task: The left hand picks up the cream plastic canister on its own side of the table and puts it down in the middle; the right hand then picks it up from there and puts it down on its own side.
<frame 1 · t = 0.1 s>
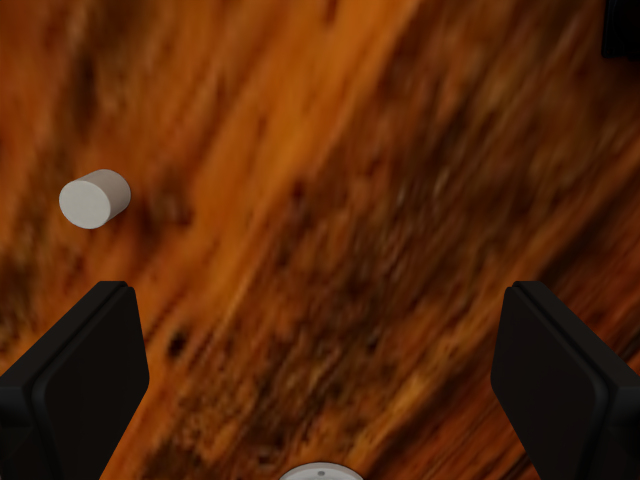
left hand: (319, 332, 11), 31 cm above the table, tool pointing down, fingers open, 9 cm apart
canister: (108, 191, 42), on the table
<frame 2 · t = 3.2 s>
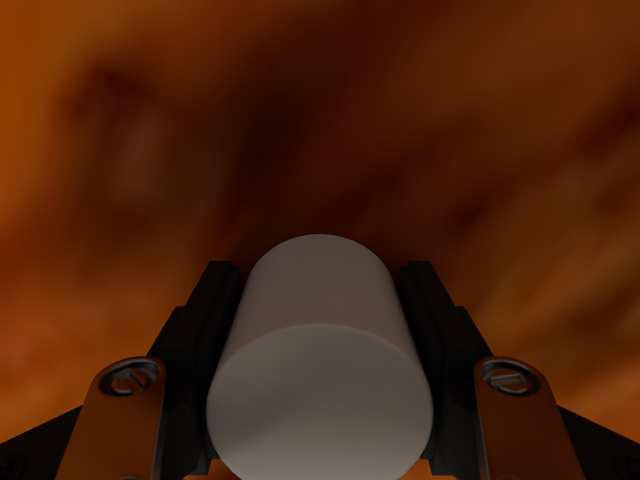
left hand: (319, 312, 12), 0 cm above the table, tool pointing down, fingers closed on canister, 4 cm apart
canister: (319, 304, 12), on the table, touching left hand
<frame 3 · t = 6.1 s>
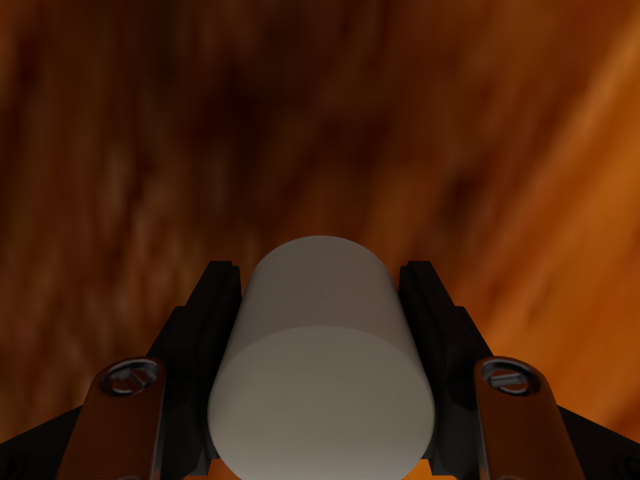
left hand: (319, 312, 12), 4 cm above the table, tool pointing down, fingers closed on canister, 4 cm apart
canister: (320, 305, 12), point 4 cm above the table, touching left hand
when the left hand's fingers open (1 cm above the table, at t = 9.3 s): canister stays where it is, on the table.
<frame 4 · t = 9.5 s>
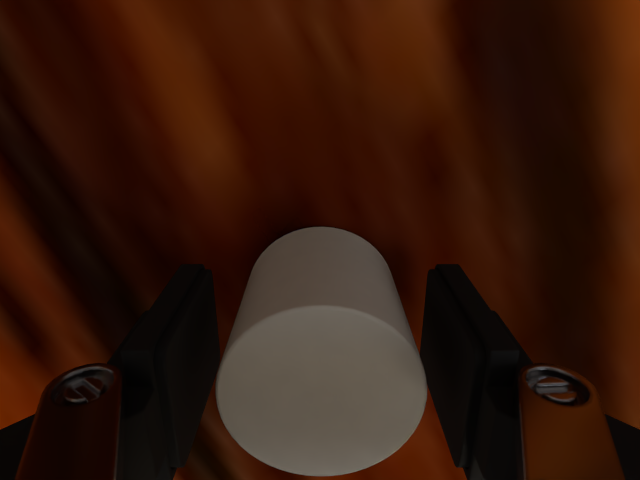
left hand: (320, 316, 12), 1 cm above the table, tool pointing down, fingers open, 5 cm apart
canister: (320, 294, 13), on the table
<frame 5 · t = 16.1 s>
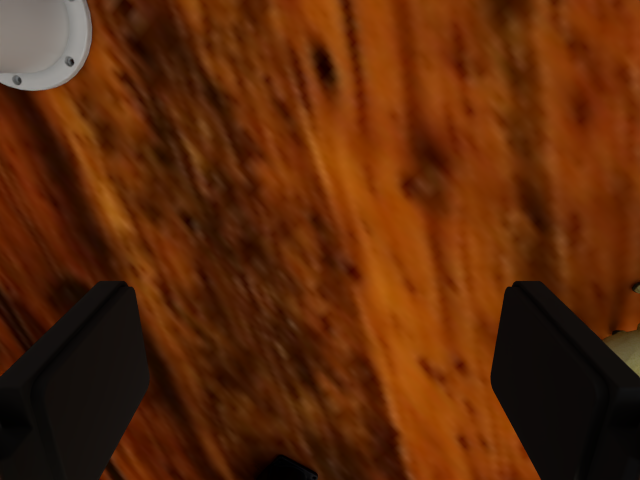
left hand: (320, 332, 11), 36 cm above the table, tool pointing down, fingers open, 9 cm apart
toy: (576, 328, 53), on the table
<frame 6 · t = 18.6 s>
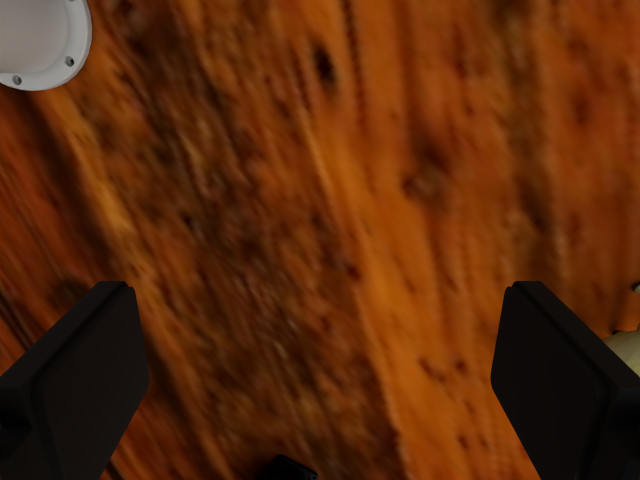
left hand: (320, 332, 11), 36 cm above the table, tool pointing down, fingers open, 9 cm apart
toy: (576, 328, 53), on the table
when the right hand's fingers open (2 cm above the table, at t = 21.5 s): canister stays where it is, on the table.
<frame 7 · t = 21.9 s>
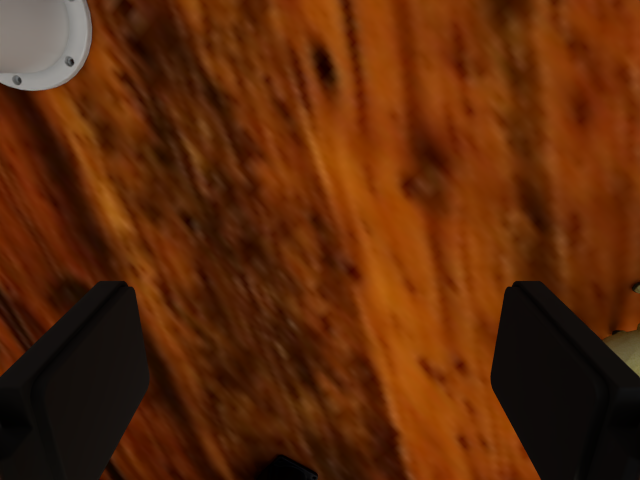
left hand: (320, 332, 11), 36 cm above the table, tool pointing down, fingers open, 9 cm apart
toy: (576, 328, 53), on the table
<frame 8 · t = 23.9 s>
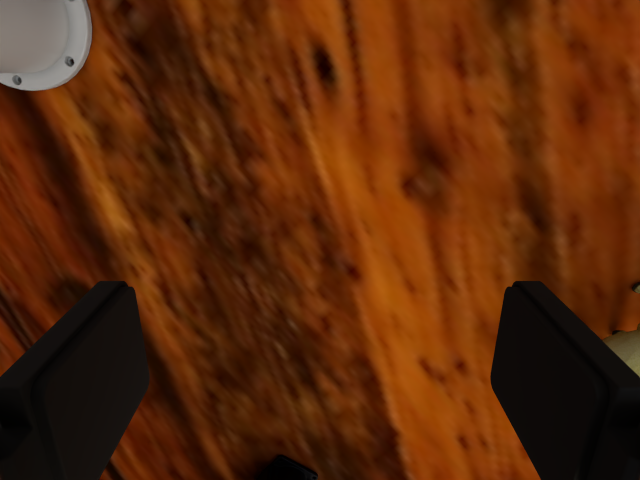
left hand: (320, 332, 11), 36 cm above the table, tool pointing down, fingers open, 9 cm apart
toy: (576, 328, 53), on the table
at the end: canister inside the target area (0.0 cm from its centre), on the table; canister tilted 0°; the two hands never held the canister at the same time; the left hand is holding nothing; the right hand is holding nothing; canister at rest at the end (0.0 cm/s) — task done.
